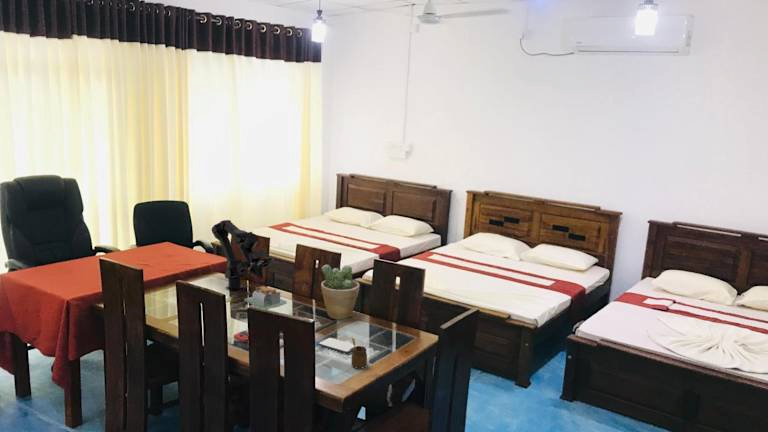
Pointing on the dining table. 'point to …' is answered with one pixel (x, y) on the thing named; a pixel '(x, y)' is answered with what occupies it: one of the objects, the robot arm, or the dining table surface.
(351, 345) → the phone case
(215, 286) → the dining table surface
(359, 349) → the utensil holder
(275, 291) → the orange brown bar
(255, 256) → the robot arm
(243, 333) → the gaming console
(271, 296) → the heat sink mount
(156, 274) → the dining table surface
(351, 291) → the potted plant
